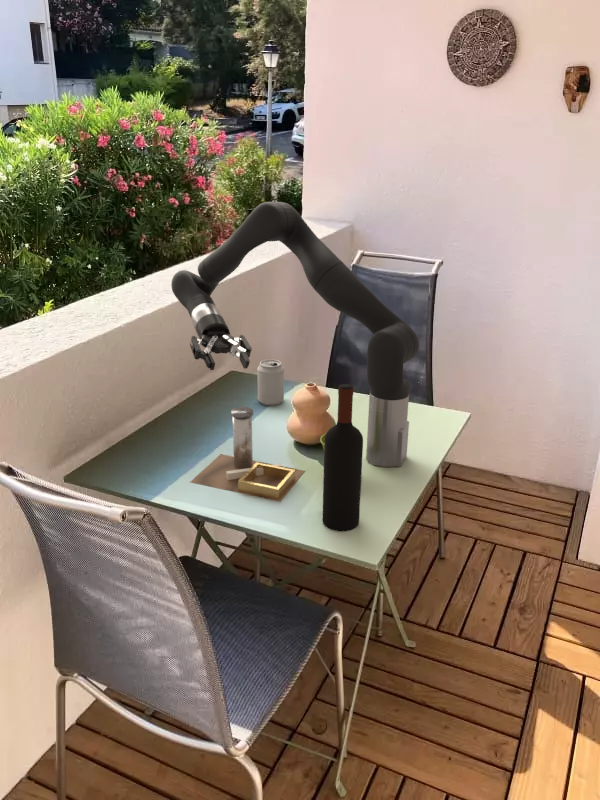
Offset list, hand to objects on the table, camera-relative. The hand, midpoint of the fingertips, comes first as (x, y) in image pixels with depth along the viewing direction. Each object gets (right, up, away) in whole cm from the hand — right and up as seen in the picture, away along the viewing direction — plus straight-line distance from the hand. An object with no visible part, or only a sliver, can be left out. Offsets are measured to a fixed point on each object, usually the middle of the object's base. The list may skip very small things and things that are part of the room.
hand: (230, 366), depth 171 cm
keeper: (+9, -28, -9) cm, 31 cm away
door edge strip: (+6, -26, -5) cm, 27 cm away
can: (+8, -9, +38) cm, 39 cm away
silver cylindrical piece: (+3, -23, -1) cm, 23 cm away
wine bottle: (+25, -33, -21) cm, 47 cm away
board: (+5, -26, -5) cm, 27 cm away
